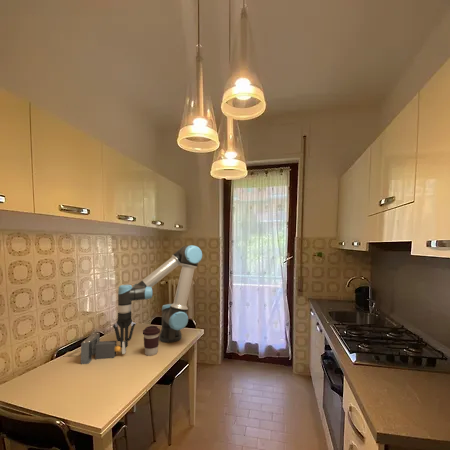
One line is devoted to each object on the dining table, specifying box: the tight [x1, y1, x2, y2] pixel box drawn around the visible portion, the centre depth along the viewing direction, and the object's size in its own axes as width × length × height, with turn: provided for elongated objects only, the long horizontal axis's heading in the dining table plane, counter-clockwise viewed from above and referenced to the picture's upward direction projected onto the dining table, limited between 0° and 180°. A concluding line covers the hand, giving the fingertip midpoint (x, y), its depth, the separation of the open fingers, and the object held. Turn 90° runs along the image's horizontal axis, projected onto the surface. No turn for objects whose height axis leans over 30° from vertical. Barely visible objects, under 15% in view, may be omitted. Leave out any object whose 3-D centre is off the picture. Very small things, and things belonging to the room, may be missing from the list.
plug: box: [95, 339, 122, 360], centre depth 150 cm, size 13×5×8 cm, turn 97°
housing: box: [80, 332, 100, 365], centre depth 149 cm, size 4×16×11 cm, turn 6°
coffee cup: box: [142, 325, 161, 357], centre depth 154 cm, size 10×10×15 cm
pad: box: [63, 350, 81, 357], centre depth 154 cm, size 9×6×1 cm, turn 96°
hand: (124, 352), depth 151 cm, fingers closed
